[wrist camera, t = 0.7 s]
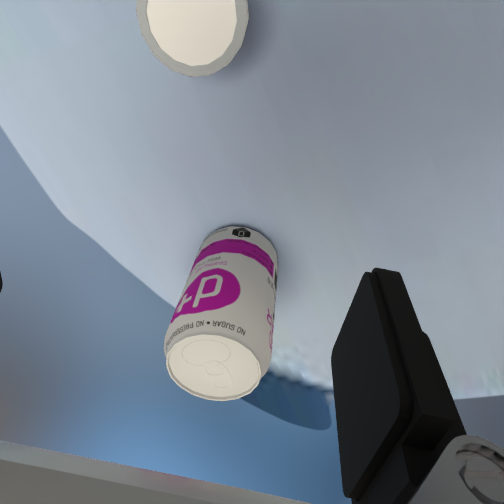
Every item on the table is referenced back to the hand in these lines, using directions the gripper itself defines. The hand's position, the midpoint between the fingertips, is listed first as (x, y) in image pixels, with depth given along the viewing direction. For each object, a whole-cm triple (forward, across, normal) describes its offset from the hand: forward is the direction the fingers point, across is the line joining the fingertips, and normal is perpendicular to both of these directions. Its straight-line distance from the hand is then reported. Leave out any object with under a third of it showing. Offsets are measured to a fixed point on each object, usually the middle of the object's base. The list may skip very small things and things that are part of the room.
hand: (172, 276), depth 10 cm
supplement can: (+27, -1, +17) cm, 32 cm away
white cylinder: (+27, +4, -4) cm, 28 cm away
